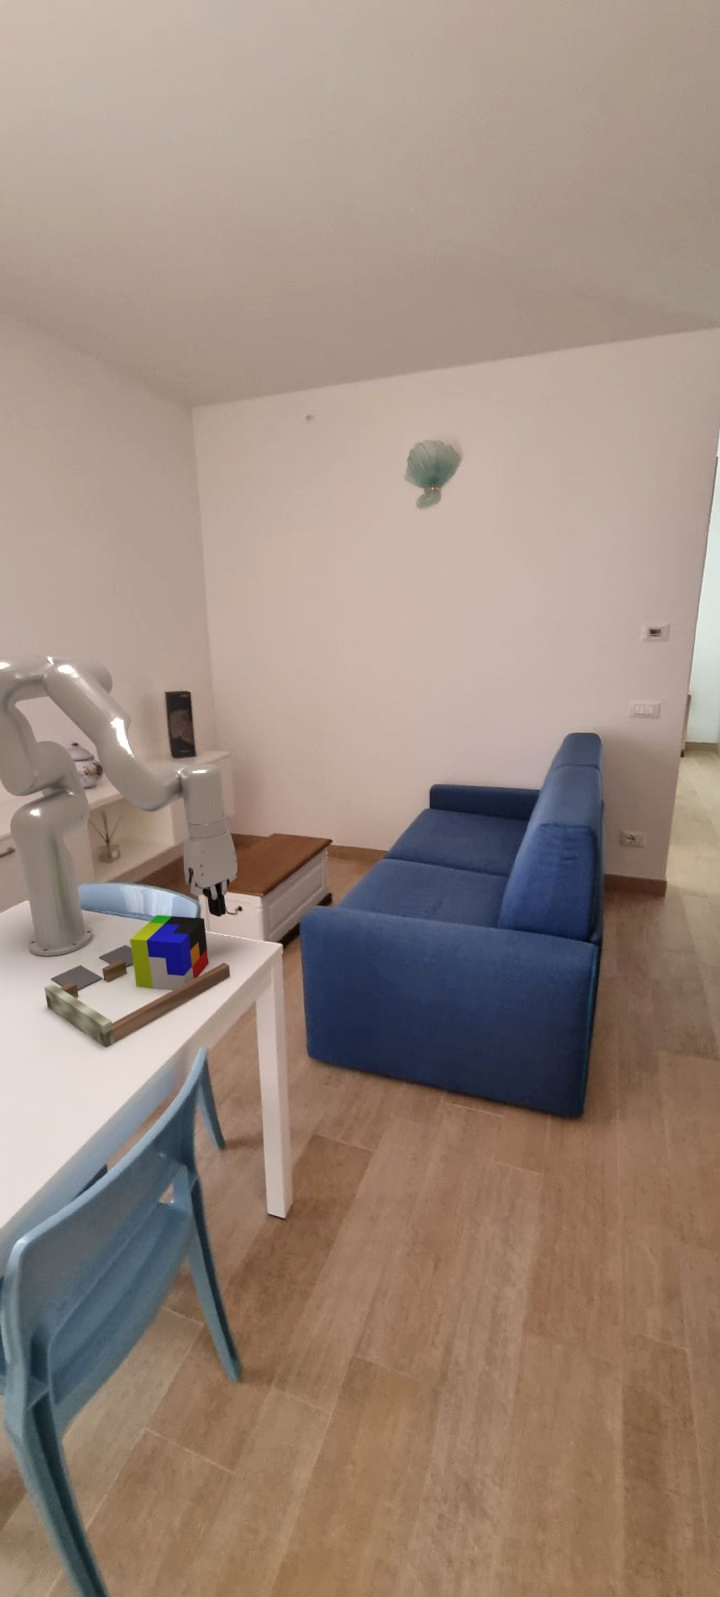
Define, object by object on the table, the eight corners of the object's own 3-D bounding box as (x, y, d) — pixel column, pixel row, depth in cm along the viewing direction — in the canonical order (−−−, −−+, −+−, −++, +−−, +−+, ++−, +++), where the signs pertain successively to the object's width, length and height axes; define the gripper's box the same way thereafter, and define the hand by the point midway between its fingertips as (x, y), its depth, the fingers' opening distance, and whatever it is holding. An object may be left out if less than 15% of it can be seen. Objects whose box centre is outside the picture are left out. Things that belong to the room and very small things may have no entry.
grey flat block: (51, 979, 124) (51, 978, 124) (80, 966, 129) (80, 965, 128) (72, 993, 119) (72, 991, 119) (102, 978, 124) (102, 977, 124)
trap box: (47, 1006, 115) (44, 987, 114) (169, 948, 135) (167, 930, 134) (106, 1047, 104) (102, 1025, 103) (230, 976, 123) (228, 957, 122)
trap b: (99, 957, 132) (98, 956, 131) (125, 946, 136) (125, 944, 136) (121, 970, 127) (121, 968, 127) (147, 957, 131) (147, 956, 131)
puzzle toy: (185, 991, 119) (180, 943, 116) (136, 987, 121) (129, 939, 118) (208, 964, 128) (204, 918, 126) (162, 960, 130) (157, 915, 128)
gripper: (224, 815, 133) (233, 896, 138) (163, 835, 122) (175, 923, 127) (248, 820, 129) (257, 904, 134) (187, 842, 118) (200, 933, 123)
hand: (217, 913), depth 130 cm, fingers closed
